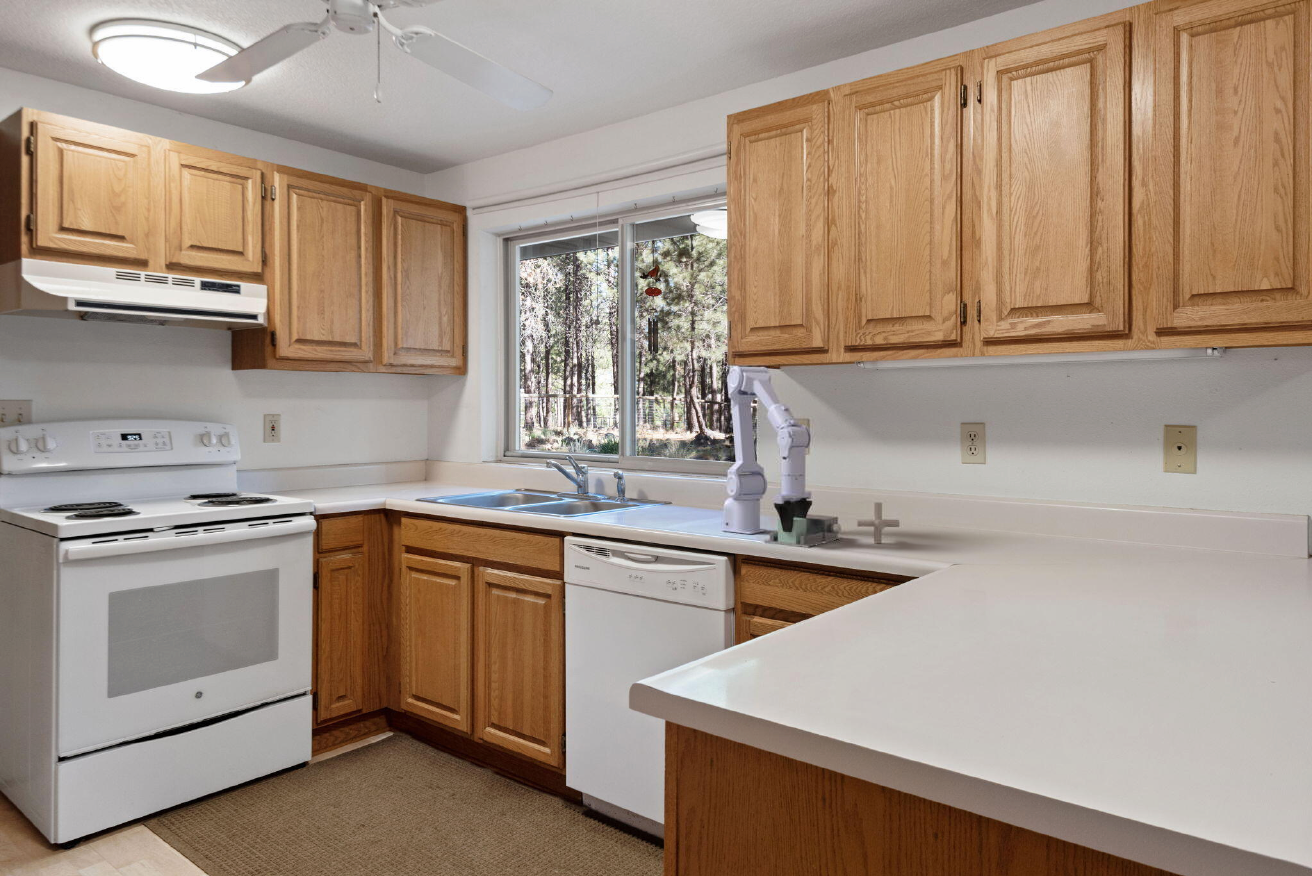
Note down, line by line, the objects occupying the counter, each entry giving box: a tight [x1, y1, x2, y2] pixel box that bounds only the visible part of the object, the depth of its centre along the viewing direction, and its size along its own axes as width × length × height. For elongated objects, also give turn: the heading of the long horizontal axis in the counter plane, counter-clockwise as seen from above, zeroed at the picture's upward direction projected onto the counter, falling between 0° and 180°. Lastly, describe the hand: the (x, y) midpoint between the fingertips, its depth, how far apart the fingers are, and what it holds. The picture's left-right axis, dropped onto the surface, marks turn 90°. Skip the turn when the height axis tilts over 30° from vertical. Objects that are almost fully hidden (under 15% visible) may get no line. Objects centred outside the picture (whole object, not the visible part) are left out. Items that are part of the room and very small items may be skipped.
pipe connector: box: [856, 501, 900, 544], centre depth 203 cm, size 10×10×10 cm
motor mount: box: [763, 513, 843, 548], centre depth 207 cm, size 13×18×6 cm
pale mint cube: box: [777, 517, 806, 543], centre depth 203 cm, size 5×5×6 cm
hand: (793, 530), depth 203 cm, fingers closed on pale mint cube, 5 cm apart
